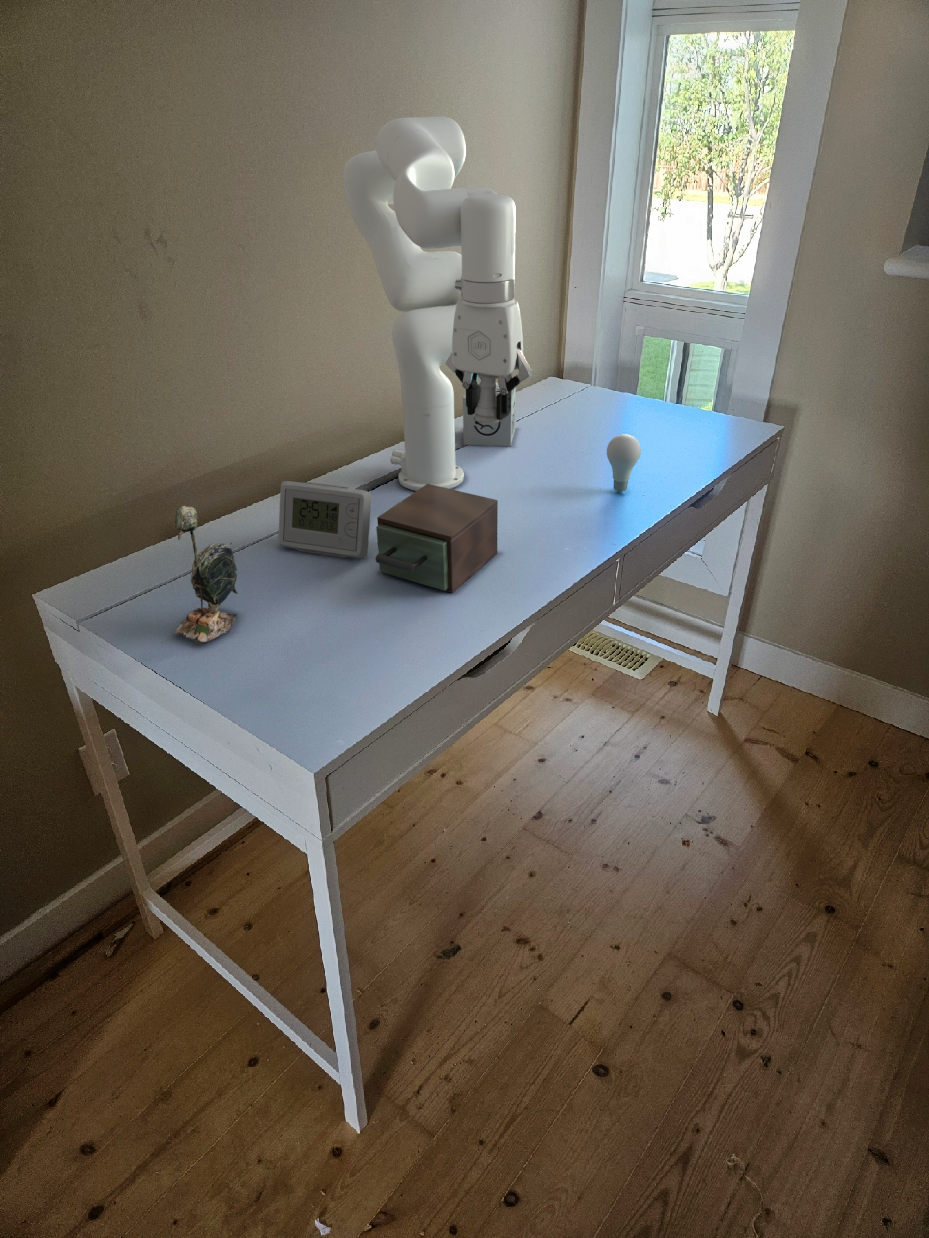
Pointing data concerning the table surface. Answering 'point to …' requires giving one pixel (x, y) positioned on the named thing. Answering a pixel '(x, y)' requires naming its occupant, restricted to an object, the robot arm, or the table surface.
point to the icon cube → (489, 427)
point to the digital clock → (324, 519)
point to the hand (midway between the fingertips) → (488, 413)
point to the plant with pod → (207, 583)
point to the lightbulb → (623, 459)
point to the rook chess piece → (487, 400)
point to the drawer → (413, 556)
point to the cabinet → (451, 526)
